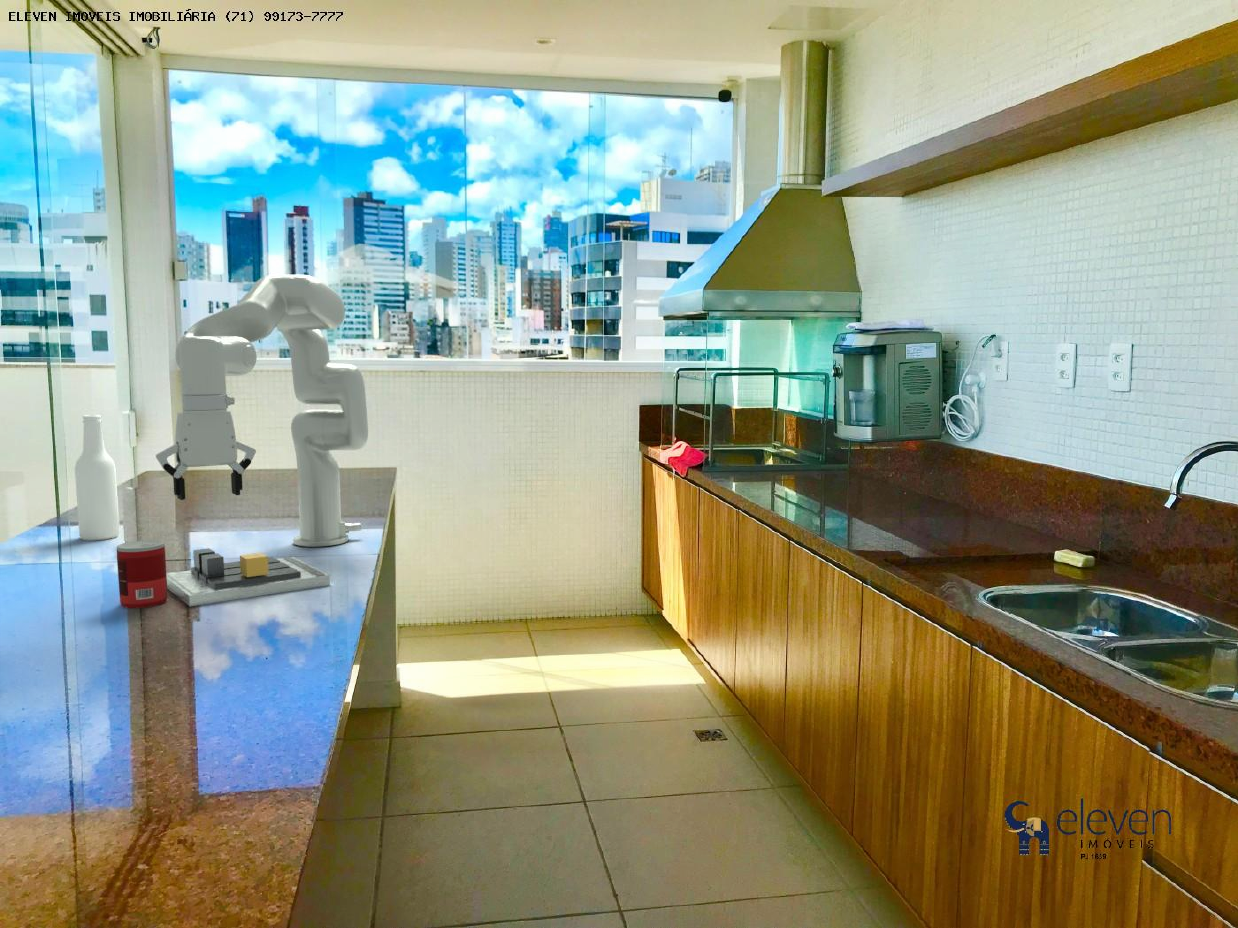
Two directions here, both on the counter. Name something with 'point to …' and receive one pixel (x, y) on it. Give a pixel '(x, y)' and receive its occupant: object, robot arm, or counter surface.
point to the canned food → (142, 573)
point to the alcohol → (96, 486)
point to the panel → (240, 579)
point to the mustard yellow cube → (254, 564)
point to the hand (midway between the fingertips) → (209, 496)
